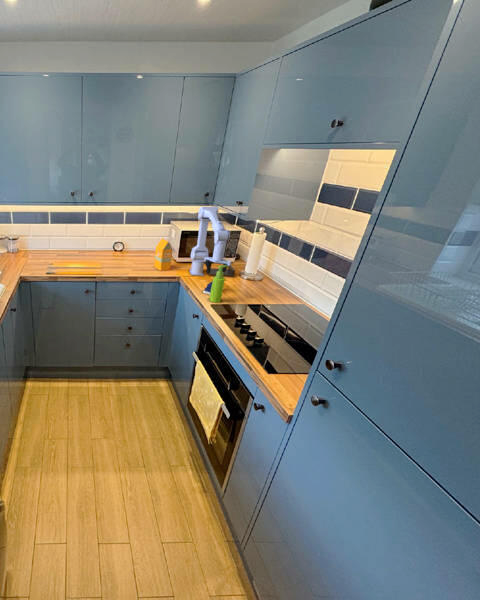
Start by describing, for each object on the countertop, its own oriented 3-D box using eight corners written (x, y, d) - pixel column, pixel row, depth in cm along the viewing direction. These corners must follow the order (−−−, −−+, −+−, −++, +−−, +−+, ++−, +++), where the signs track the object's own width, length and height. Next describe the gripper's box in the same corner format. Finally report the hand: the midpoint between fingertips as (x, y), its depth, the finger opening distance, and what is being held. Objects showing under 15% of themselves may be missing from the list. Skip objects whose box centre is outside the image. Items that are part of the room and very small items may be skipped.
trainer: (211, 287, 195) (212, 280, 193) (219, 289, 192) (220, 282, 190) (203, 292, 188) (204, 286, 186) (210, 295, 185) (212, 288, 183)
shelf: (206, 270, 221) (207, 263, 219) (229, 271, 219) (230, 264, 217) (209, 275, 211) (210, 269, 209) (233, 277, 209) (235, 270, 207)
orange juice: (163, 265, 230) (166, 237, 221) (170, 269, 222) (173, 241, 214) (153, 266, 228) (156, 238, 219) (160, 270, 220) (163, 242, 212)
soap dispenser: (224, 301, 177) (231, 266, 168) (213, 303, 175) (220, 268, 166) (217, 297, 182) (224, 263, 173) (206, 298, 180) (213, 264, 172)
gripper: (203, 250, 183) (199, 273, 188) (229, 256, 174) (224, 279, 179) (208, 248, 187) (205, 270, 193) (234, 253, 178) (229, 276, 184)
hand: (215, 274), depth 186 cm, fingers open, 7 cm apart
